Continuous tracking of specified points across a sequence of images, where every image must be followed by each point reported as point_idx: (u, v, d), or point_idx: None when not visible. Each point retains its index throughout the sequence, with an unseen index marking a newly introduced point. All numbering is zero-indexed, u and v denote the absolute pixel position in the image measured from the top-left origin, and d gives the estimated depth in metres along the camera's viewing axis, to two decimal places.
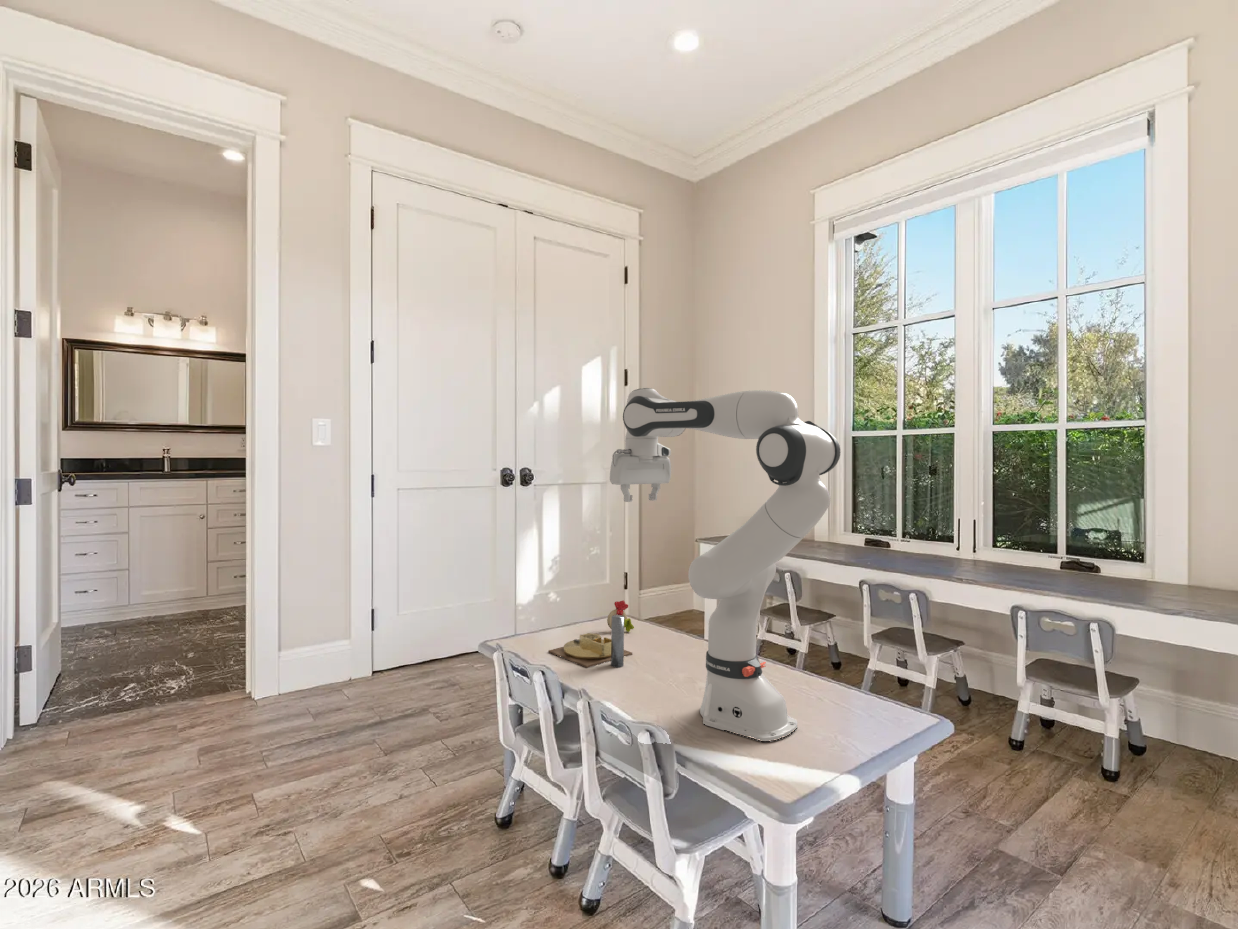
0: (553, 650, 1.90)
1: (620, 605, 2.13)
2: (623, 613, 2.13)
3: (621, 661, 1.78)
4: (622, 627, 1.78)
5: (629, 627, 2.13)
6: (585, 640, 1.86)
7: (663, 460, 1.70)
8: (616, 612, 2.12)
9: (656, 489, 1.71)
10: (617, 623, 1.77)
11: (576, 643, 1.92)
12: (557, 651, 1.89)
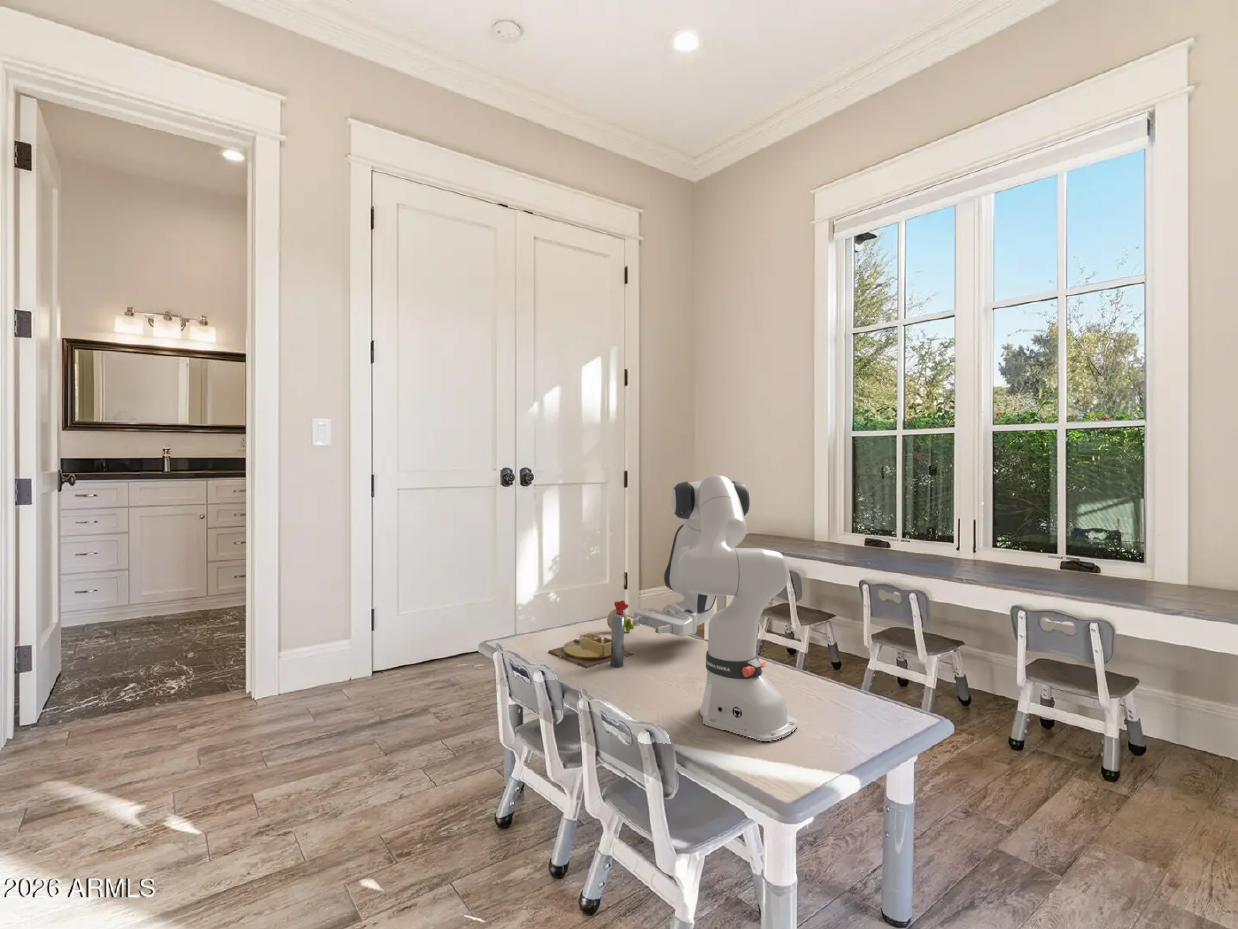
0: (553, 650, 1.90)
1: (620, 605, 2.13)
2: (623, 613, 2.13)
3: (621, 661, 1.78)
4: (622, 627, 1.78)
5: (629, 627, 2.13)
6: (585, 640, 1.86)
7: (684, 616, 1.91)
8: (616, 612, 2.12)
9: None
10: (617, 623, 1.77)
11: (576, 643, 1.92)
12: (557, 651, 1.89)
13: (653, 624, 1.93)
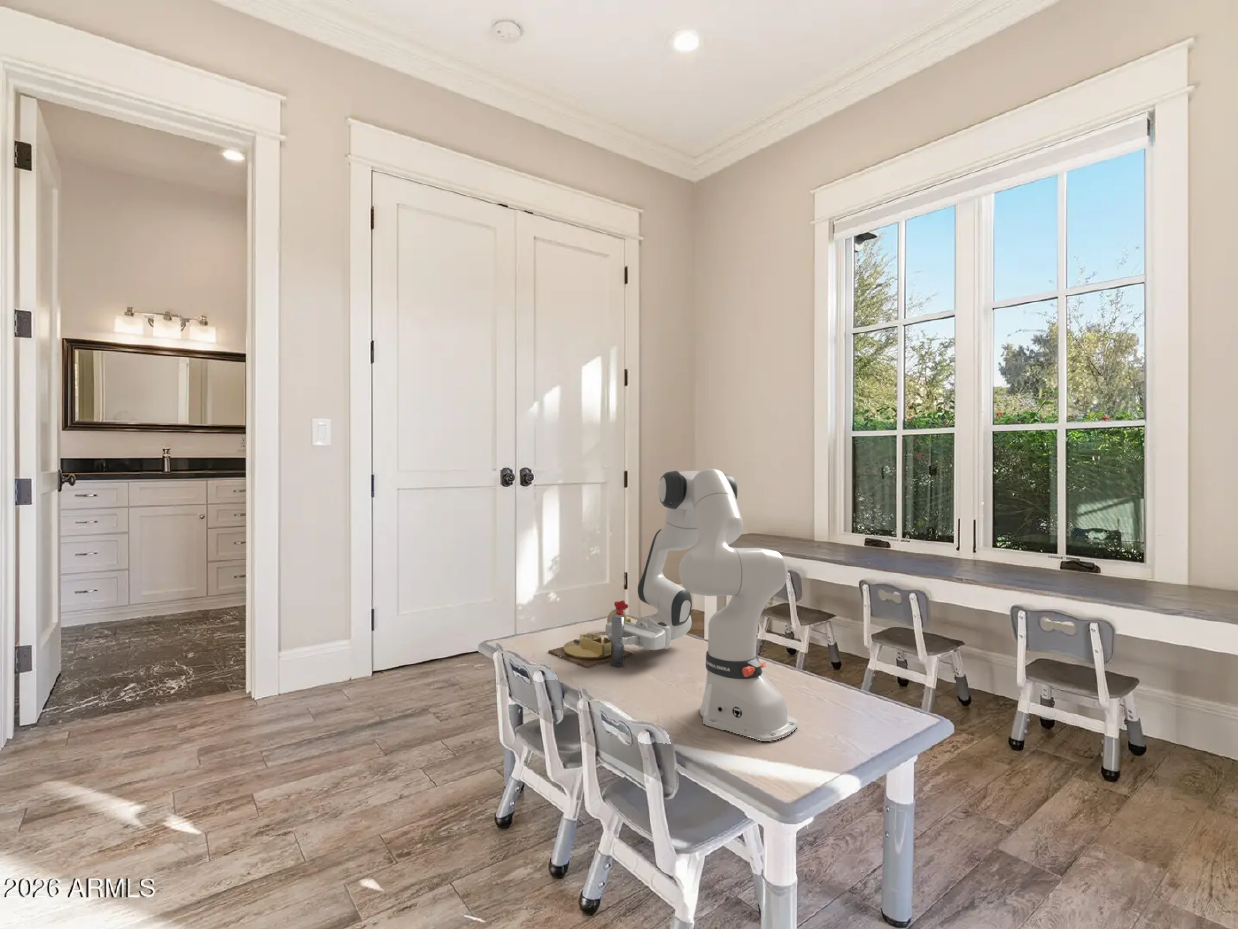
0: (553, 650, 1.90)
1: (620, 605, 2.13)
2: (623, 613, 2.13)
3: (621, 661, 1.78)
4: (622, 627, 1.78)
5: None
6: (585, 640, 1.86)
7: (657, 628, 1.81)
8: (616, 612, 2.12)
9: None
10: (617, 623, 1.77)
11: (576, 643, 1.92)
12: (557, 651, 1.89)
13: None
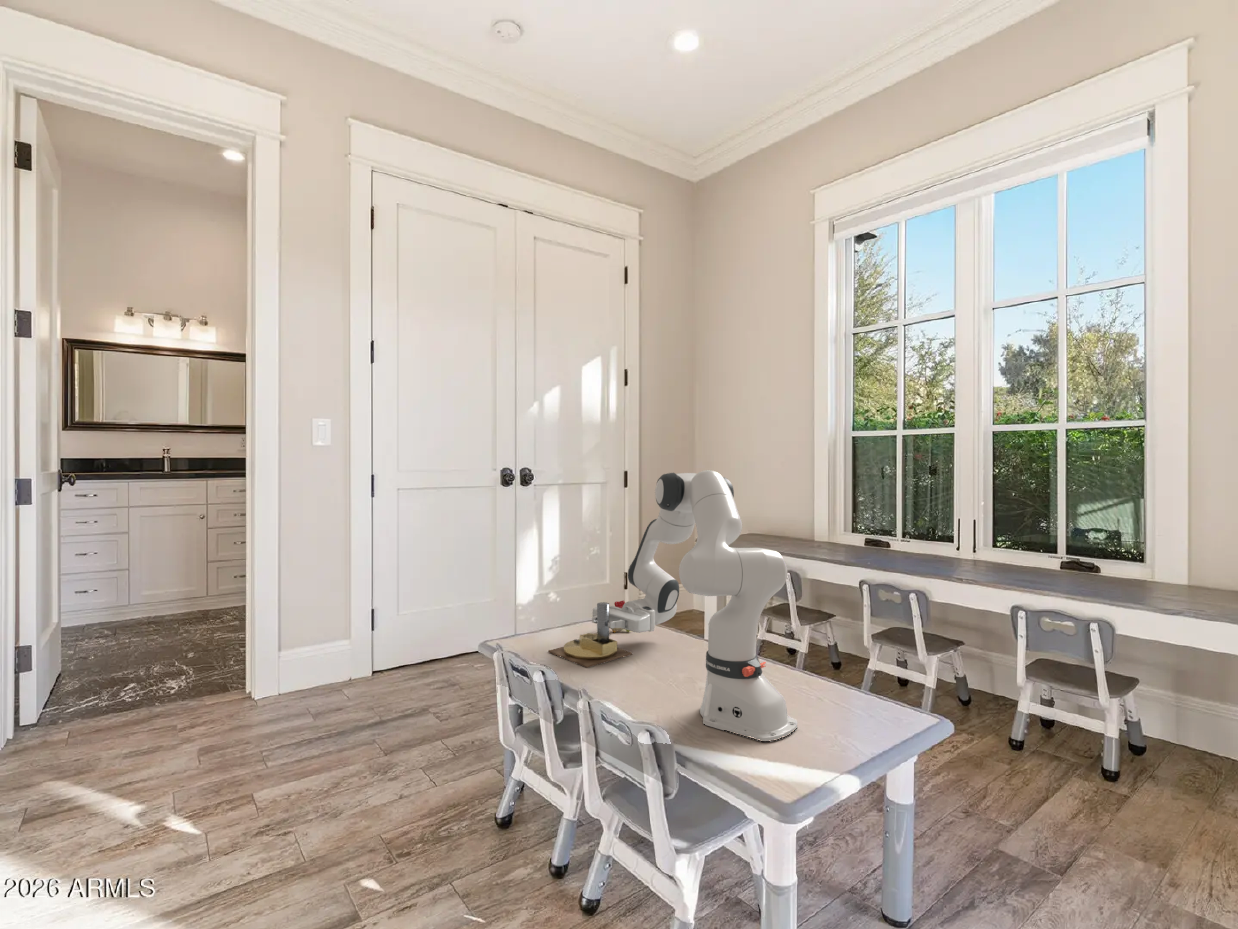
0: (553, 650, 1.90)
1: (620, 605, 2.13)
2: None
3: None
4: (607, 614, 1.84)
5: None
6: (585, 640, 1.86)
7: (642, 612, 1.87)
8: None
9: None
10: (602, 609, 1.83)
11: (576, 643, 1.92)
12: (557, 651, 1.89)
13: (611, 621, 1.89)
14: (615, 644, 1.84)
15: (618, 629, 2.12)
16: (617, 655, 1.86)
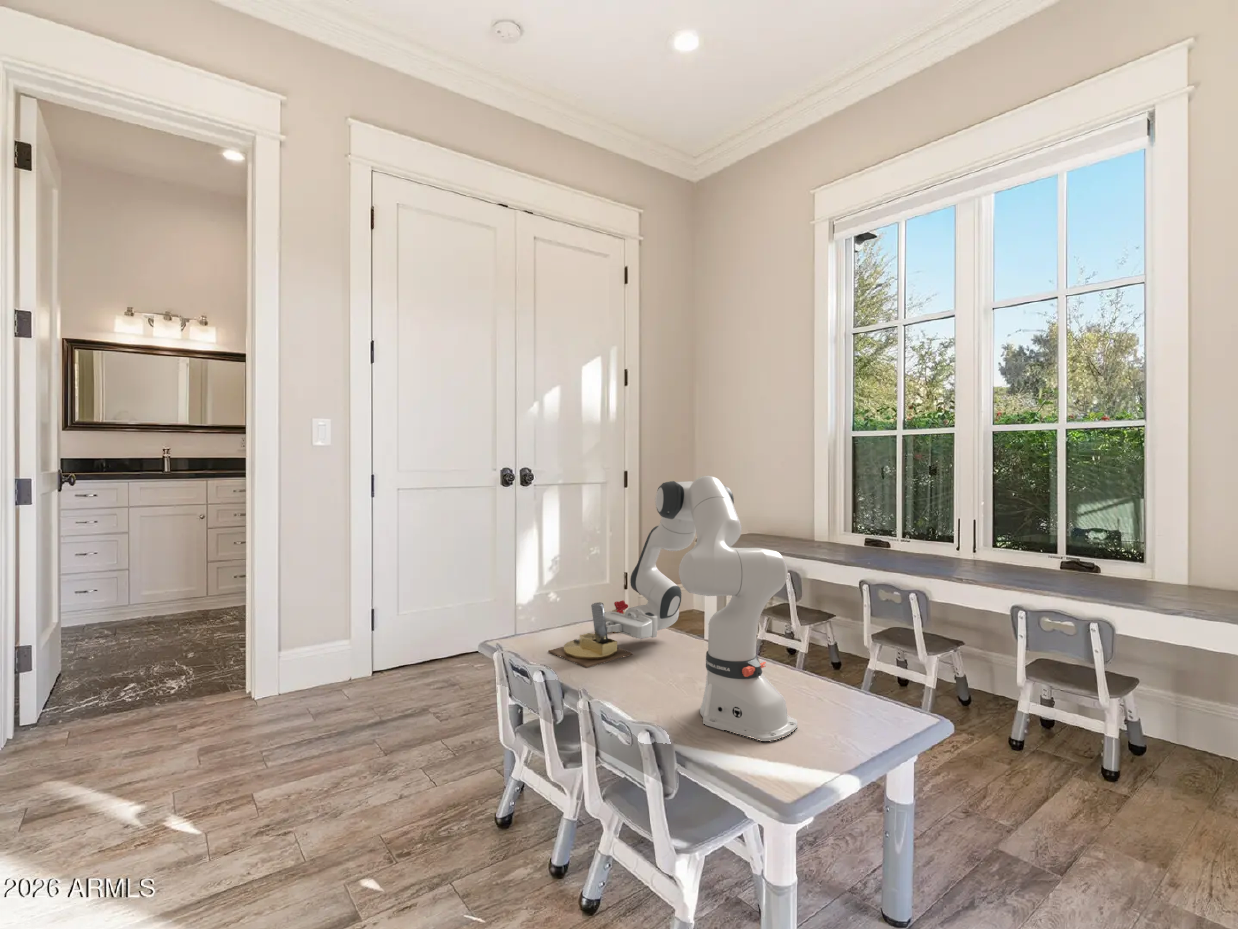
0: (553, 650, 1.90)
1: (620, 605, 2.13)
2: (623, 613, 2.13)
3: None
4: (602, 614, 1.82)
5: None
6: (585, 640, 1.86)
7: (644, 618, 1.89)
8: None
9: None
10: (597, 611, 1.82)
11: (576, 643, 1.92)
12: (557, 651, 1.89)
13: None
14: (615, 644, 1.84)
15: None
16: (617, 655, 1.86)
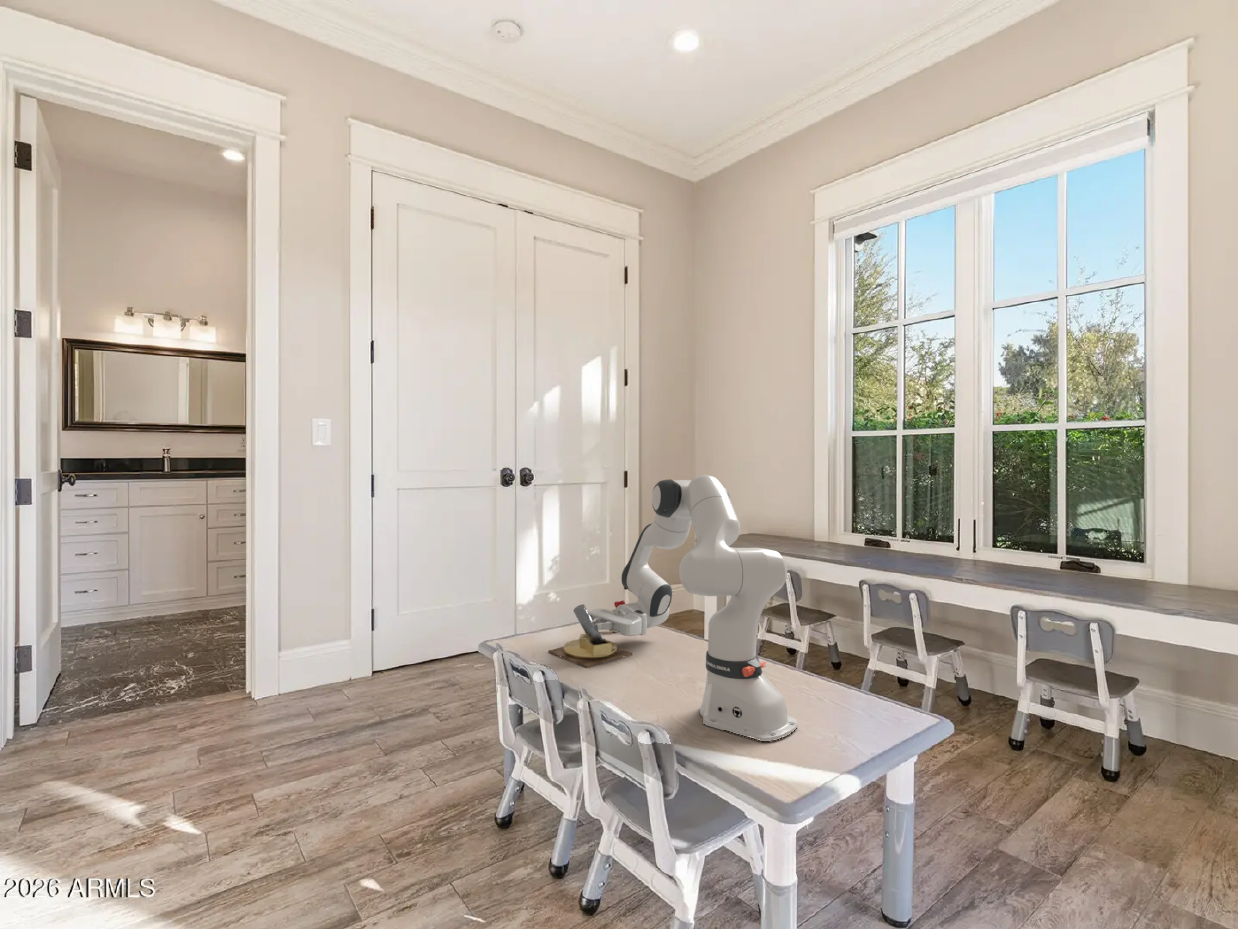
0: (553, 650, 1.90)
1: None
2: None
3: (601, 643, 1.83)
4: (586, 616, 1.81)
5: None
6: (582, 640, 1.87)
7: (634, 616, 1.88)
8: None
9: None
10: (580, 615, 1.80)
11: (579, 642, 1.93)
12: (557, 651, 1.89)
13: None
14: (609, 646, 1.82)
15: None
16: (617, 655, 1.86)
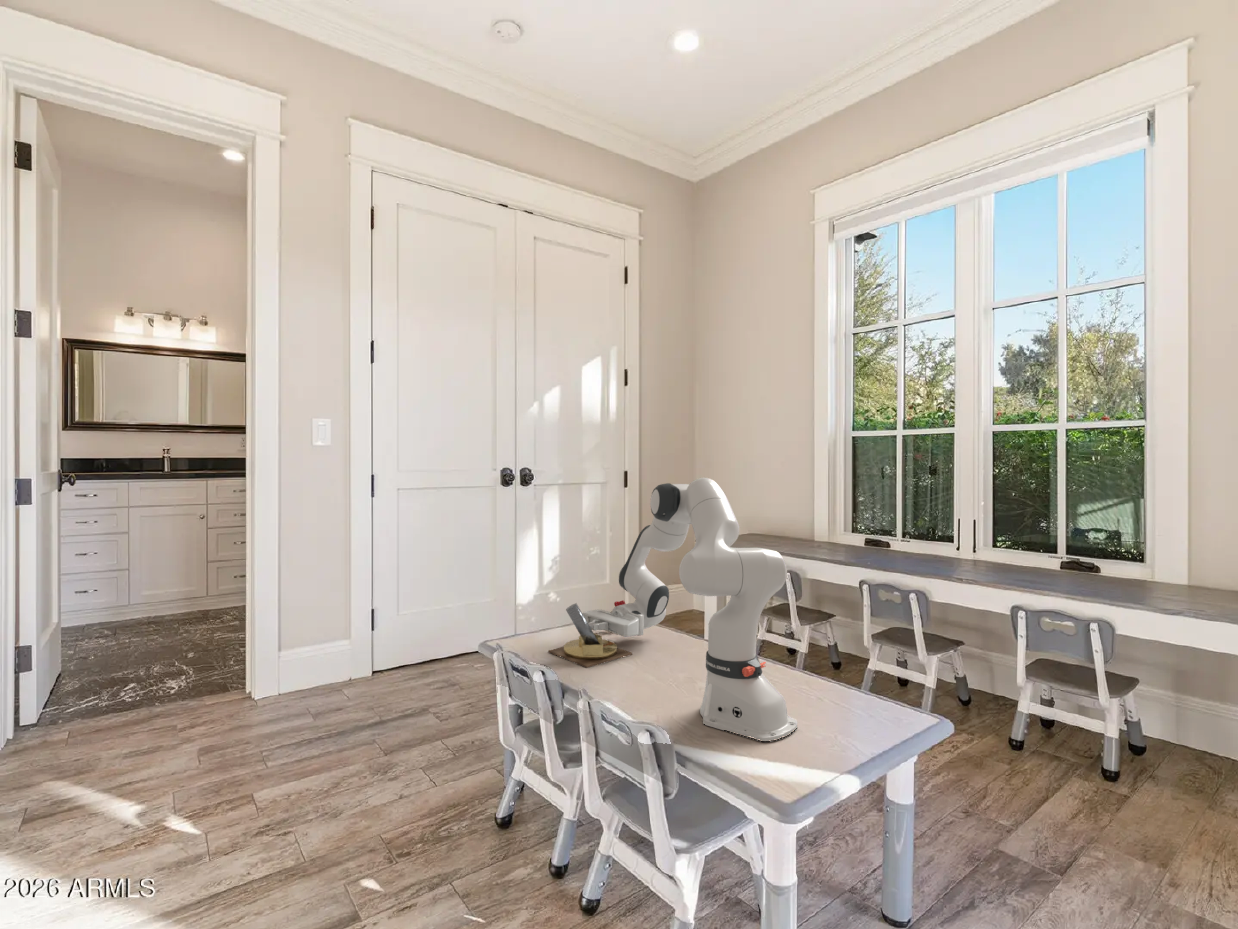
0: (553, 650, 1.90)
1: None
2: None
3: (593, 644, 1.82)
4: (577, 615, 1.82)
5: None
6: (581, 639, 1.88)
7: (631, 616, 1.90)
8: None
9: None
10: (570, 613, 1.81)
11: None
12: (557, 651, 1.89)
13: None
14: (600, 647, 1.81)
15: None
16: (617, 655, 1.86)
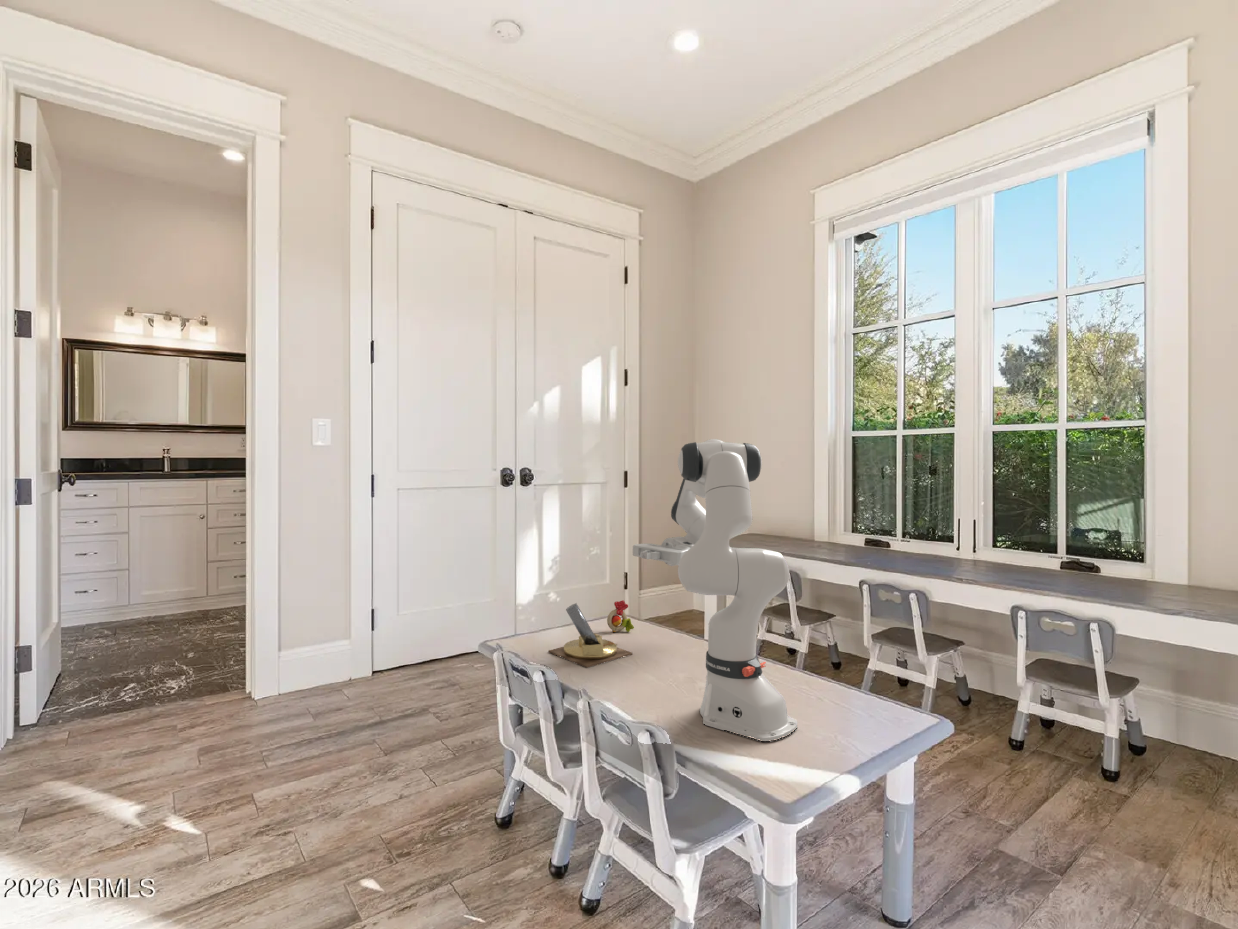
0: (553, 650, 1.90)
1: (620, 605, 2.13)
2: (623, 613, 2.13)
3: (593, 644, 1.82)
4: (577, 615, 1.82)
5: (629, 627, 2.13)
6: (581, 639, 1.88)
7: (683, 546, 1.91)
8: (616, 612, 2.12)
9: None
10: (570, 613, 1.81)
11: None
12: (557, 651, 1.89)
13: None
14: (600, 647, 1.81)
15: (618, 629, 2.12)
16: (617, 655, 1.86)
